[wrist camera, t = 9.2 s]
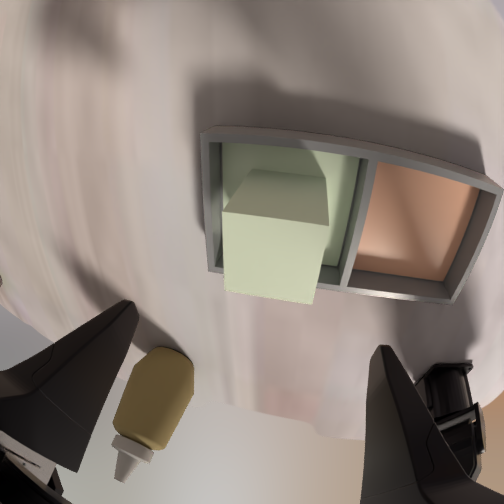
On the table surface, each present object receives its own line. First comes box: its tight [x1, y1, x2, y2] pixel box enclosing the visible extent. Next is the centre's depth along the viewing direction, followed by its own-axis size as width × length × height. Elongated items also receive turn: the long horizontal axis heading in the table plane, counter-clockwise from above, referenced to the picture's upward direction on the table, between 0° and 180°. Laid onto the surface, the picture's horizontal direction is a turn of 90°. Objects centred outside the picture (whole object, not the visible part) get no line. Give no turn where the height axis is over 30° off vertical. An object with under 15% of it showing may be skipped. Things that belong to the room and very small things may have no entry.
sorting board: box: [200, 126, 504, 305], centre depth 16 cm, size 18×10×2 cm, turn 89°
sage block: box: [222, 169, 329, 305], centre depth 15 cm, size 4×4×6 cm
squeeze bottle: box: [111, 347, 194, 483], centre depth 26 cm, size 8×8×18 cm
